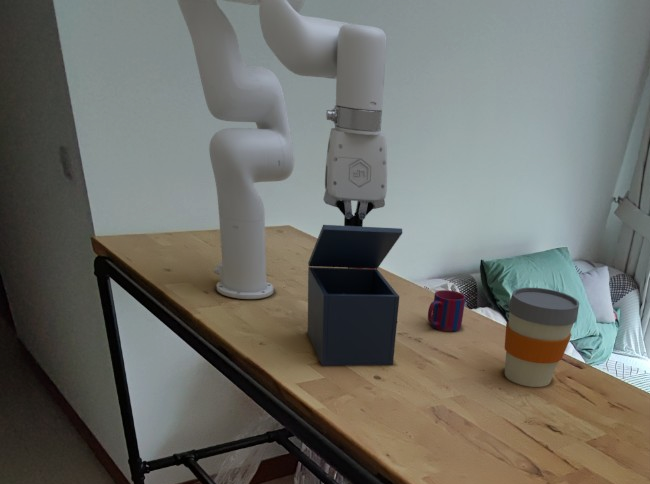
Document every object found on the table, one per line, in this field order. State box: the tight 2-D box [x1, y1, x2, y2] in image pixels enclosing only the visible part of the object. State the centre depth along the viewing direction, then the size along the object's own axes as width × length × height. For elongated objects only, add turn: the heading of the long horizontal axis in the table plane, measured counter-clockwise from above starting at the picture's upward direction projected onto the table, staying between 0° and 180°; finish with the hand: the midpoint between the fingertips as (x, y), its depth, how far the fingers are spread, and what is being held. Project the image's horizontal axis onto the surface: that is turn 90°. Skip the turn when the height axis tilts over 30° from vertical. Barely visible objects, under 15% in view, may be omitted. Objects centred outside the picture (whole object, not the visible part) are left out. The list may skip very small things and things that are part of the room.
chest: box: [307, 266, 400, 367], centre depth 123 cm, size 17×14×13 cm
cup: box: [427, 289, 467, 333], centre depth 139 cm, size 7×10×7 cm
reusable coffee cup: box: [504, 287, 580, 388], centre depth 120 cm, size 13×12×15 cm
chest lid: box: [307, 224, 403, 269], centre depth 116 cm, size 18×14×1 cm
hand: (352, 241), depth 116 cm, fingers closed
